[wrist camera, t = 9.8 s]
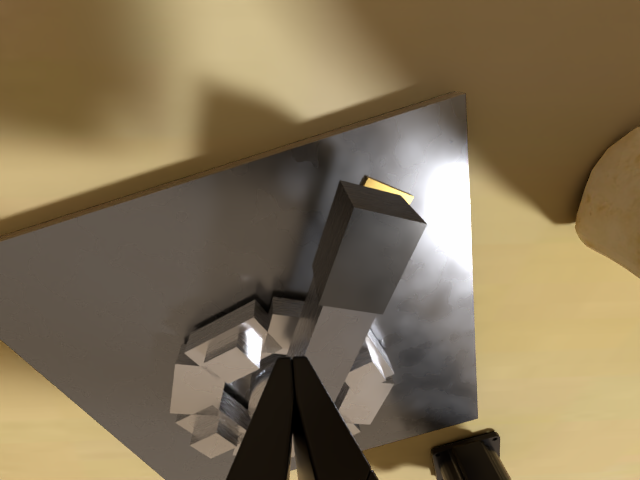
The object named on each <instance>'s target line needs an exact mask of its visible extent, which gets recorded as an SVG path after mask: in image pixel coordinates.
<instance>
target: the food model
mask: <svg viewBox="0 0 640 480" xmlns="http://www.w3.org/2000/svg"><path fill="white" fill-rule="evenodd" d="M575 229H576V232H577V234H578V236H579V238H580V240H581V241H582V242H583V243H584V244H585V245H586V246H588V247H589V248H591V249H593V250H594V251H596V252H598V253H600V254H602V255H604V256H606V257H608V258H610V259H611V260H613V261H615V262H616V263H618V264H620V265H621V266H623V267H624V268H626V269H627V270H629V271H630V272H631V273H633V274H634V275H636V276H637V277H638V278H640V127H637V128H635V129H633V130H632V131H631V132H629V133H628V134H627V135H625V136H624V137H623V138H621V139H620V140H619V141H617V142H616V143H615V144H613V145H612V146H611V147H609V148H608V149H607V150H606V152H605V153H604V154H603V156H602V157H601V158H600V160H599V161H598V163H597V164H596V165H595V167H594V168H593V169H592V171H591V174H590V176H589V179H588V182H587V184H586V187H585V190H584V193H583V196H582V200H581V203H580V206H579V209H578V212H577V216H576V225H575Z"/></svg>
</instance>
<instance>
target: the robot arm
mask: <svg viewBox="0 0 640 480" xmlns="http://www.w3.org/2000/svg"><path fill="white" fill-rule="evenodd" d="M292 436H293V444H294V452H295V459H296V466H297V473H298V480H379V479H378V478H377V476H376V474H375V473H374V471H373V470H371V466H370V464H369V463H368V461H367V459H366V457H365V456H364V454H363V452H362V451H361V449H360V447H359V445H358V444H357V442H356V440H355V438H354V437H353V435H352V433H351V432H350V430H349V428H348V426H347V425H346V423H345V421H344V420H343V418H342V416H341V414H340V413H339V411H338V409H337V407H336V406H335V404H334V402H333V401H332V399H331V397H330V395H329V394H328V392H327V390H326V389H325V387H324V385H323V383H322V382H321V380H320V378H319V376H318V375H317V373H316V371H315V370H314V368H313V366H312V364H311V363H310V361H309V359H308V358H307V357H306V356H294V357H293V358H291V357H278V358H277V359H276V362H275V364H274V366H273V369H272V371H271V373H270V376H269V378H268V380H267V383H266V385H265V388H264V390H263V392H262V395H261V397H260V399H259V402H258V404H257V407H256V409H255V411H254V414H253V416H252V418H251V421H250V423H249V425H248V428H247V430H246V433H245V435H244V437H243V440H242V442H241V444H240V447H239V449H238V452H237V454H236V456H235V459H234V461H233V463H232V466H231V468H230V470H229V473H228V475H227V478H226V480H289V477H290V465H291V453H292ZM431 455H432V460H433V465H434V470H435V475H436V479H437V480H511V478H510V476H509V474H508V473H507V471H506V469H505V467H504V466H503V464H502V462H501V460H500V437H499V435H498V433H497V432H491V433H488V434H484V435H480V436H477V437H473V438H470V439H466V440H462V441H459V442H455V443H452V444H448V445H444V446H441V447H437V448H434V449H432V450H431Z"/></svg>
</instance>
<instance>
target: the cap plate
mask: <svg viewBox="0 0 640 480" xmlns="http://www.w3.org/2000/svg"><path fill="white" fill-rule="evenodd" d="M340 180H342V181H346V182H350V183H354V184H358V185H362V186H366V187H370V188H374V189H378V190H382V191H386V192H390V193H394V194H398V195H401V196H402V197H403V198H404V199H405V200H406V201H407V203H408V204H409V205H410V206H411V207H412V208H413V209H414V210H415V211H416V212H417V213H418V215H419V216H420V217H421V218H422V219H423V220H424V221H425V222H426V223H427V226H426V228H425V230H424V232H423V234H422V236H421V238H420V240H419V242H418V244H417V246H416V248H415V250H414V252H413V254H412V256H411V258H410V260H409V262H408V264H407V266H406V268H405V270H404V272H403V275H402V277H401V279H400V281H399V283H398V285H397V287H396V289H395V291H394V293H393V295H392V297H391V299H390V301H389V303H388V305H387V307H386V309H385V311H384V313H383V315H382V314H377V315H376V318H375V320H374V322H373V324H372V326H371V328H370V330H371V332H372V333H373V335H374V336H375V338H376V339H377V341H378V342H379V344H380V345H381V347H382V348H383V350H384V351H385V353H386V354H387V356H388V358H389V361H390V364H391V366H392V369H393V372H394V374H393V375H391V377H392V379H393V382H394V385H393V387H392V388H391V390H390V392H389V394H388V395H387V397H386V399H385V400H384V402H383V404H382V405H381V407H380V409H379V410H378V412H377V414H376V416H375V417H374V419H373V421H372V422H371V424H370V425H369V424H359V426H360V431H361V432H359V433H357V434H355V435H353V437H354V438H355V440H356V442H357V444H358V445H359V447H360V449H361V451H363V450H366V449H370V448H374V447H377V446H381V445H384V444H388V443H391V442H395V441H399V440H402V439H406V438H409V437H413V436H417V435H420V434H424V433H427V432H431V431H435V430H438V429H442V428H445V427H449V426H452V425H456V424H460V423H463V422H467V421H470V420H474V419H478V408H477V381H476V354H475V327H474V301H473V274H472V247H471V220H470V193H469V166H468V140H467V113H466V93H460V92H455V91H454V92H451V93H448V94H445V95H442V96H439V97H436V98H433V99H429V100H426V101H423V102H420V103H417V104H414V105H411V106H407V107H404V108H401V109H398V110H395V111H392V112H389V113H386V114H382V115H379V116H376V117H373V118H370V119H367V120H364V121H360V122H357V123H354V124H351V125H348V126H345V127H342V128H339V129H335V130H332V131H329V132H326V133H323V134H320V135H317V136H314V137H310V138H307V139H304V140H301V141H298V142H295V143H292V144H288V145H285V146H282V147H279V148H276V149H273V150H270V151H267V152H263V153H260V154H257V155H254V156H251V157H248V158H245V159H241V160H238V161H235V162H232V163H229V164H226V165H223V166H220V167H216V168H213V169H210V170H207V171H204V172H201V173H198V174H195V175H191V176H188V177H185V178H182V179H179V180H176V181H173V182H169V183H166V184H163V185H160V186H157V187H154V188H151V189H148V190H144V191H141V192H138V193H135V194H132V195H129V196H126V197H122V198H119V199H116V200H113V201H110V202H107V203H104V204H101V205H97V206H94V207H91V208H88V209H85V210H82V211H79V212H76V213H72V214H69V215H66V216H63V217H60V218H57V219H54V220H50V221H47V222H44V223H41V224H38V225H35V226H32V227H29V228H25V229H22V230H19V231H16V232H13V233H10V234H7V235H3V236H0V340H2V341H3V342H4V343H5V344H6V345H7V346H9V347H10V348H11V349H12V350H13V351H15V352H16V353H17V354H18V355H19V356H20V357H22V358H23V359H24V360H25V361H26V362H27V363H29V364H30V365H31V366H32V367H33V368H35V369H36V370H37V371H38V372H39V373H40V374H42V375H43V376H44V377H45V378H46V379H47V380H49V381H50V382H51V383H52V384H53V385H54V386H56V387H57V388H58V389H59V390H60V391H62V392H63V393H64V394H65V395H66V396H67V397H69V398H70V399H71V400H72V401H73V402H74V403H76V404H77V405H78V406H79V407H80V408H82V409H83V410H84V411H85V412H86V413H87V414H89V415H90V416H91V417H92V418H93V419H94V420H96V421H97V422H98V423H99V424H100V425H102V426H103V427H104V428H105V429H106V430H107V431H109V432H110V433H111V434H112V435H113V436H114V437H116V438H117V439H118V440H119V441H120V442H121V443H123V444H124V445H125V446H126V447H127V448H129V449H130V450H131V451H132V452H133V453H134V454H136V455H137V456H138V457H139V458H140V459H141V460H143V461H144V462H145V463H146V464H147V465H149V466H150V467H151V468H152V469H153V470H154V471H156V472H157V473H158V474H159V475H160V476H161V477H163V478H164V479H165V480H226V478H227V475H228V473H229V470H230V468H231V466H232V463H233V461H234V459H235V456H236V455H233V449H231V450H229V451H227V452H225V453H222V454H220V455H218V456H216V457H213V458H209V457H207V456H206V455H204V454H203V453H201V452H199V451H198V450H196V449H195V448H193V447H191V446H190V442H191V437H192V433H190V432H189V431H187V430H186V429H184V428H183V427H181V426H180V425H178V424H177V423H175V422H176V418H177V415H178V414H173V413H170V406H171V397H172V388H173V379H174V370H175V363H176V360H177V357H178V354H179V351H180V348H181V345H182V344H187V342H188V339H189V336H190V333H192V332H194V331H196V330H198V329H200V328H202V327H204V326H205V325H207V324H209V323H211V322H213V321H215V320H217V319H219V318H221V317H223V316H225V315H226V314H228V313H230V312H232V311H234V310H236V309H238V308H240V307H242V306H244V305H246V304H247V303H249V302H251V301H253V300H256V301H257V302H258V303H259V304H260V305H261V306H262V308H263V309H264V310H265V311H266V312H267V313H269V310H270V306H271V303H272V299H273V297H280V298H286V299H293V300H300V301H305V299H306V296H307V293H308V290H309V287H310V284H311V281H312V278H313V270H312V263H313V260H314V257H315V254H316V251H317V248H318V245H319V242H320V239H321V236H322V233H323V230H324V227H325V224H326V221H327V218H328V215H329V212H330V208H331V205H332V202H333V199H334V196H335V193H336V190H337V187H338V184H339V181H340ZM278 357H286V355H285V354H275V353H273V354H271V355H269V356H267V357H265V358H263V359H260V369H258V370H256V371H254V372H252V373H250V374H248V375H246V376H244V377H241V378H239V379H237V380H235V381H233V382H231V383H229V384H227V383H226V382H225V385H224V389H223V390H224V391H225V392H226V393H227V394H229V395H230V396H231V397H232V398H234V399H235V400H236V401H237V402H238V403H240V404H241V405H242V406H243V407H245V408H246V409H247V410H248V414H249V416H250V418H252V416H253V414H254V411H255V409H256V407H257V404H258V402H259V399H260V397H261V395H262V392H263V390H264V388H265V385H266V383H267V380H268V378H269V376H270V373H271V371H272V369H273V366H274V364H275V362H276V359H277V358H278ZM295 469H297V466H296V459H295V456H294V457H291V465H290V471H291V470H295Z"/></svg>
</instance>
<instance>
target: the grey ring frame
mask: <svg viewBox="0 0 640 480" xmlns="http://www.w3.org/2000/svg"><path fill="white" fill-rule="evenodd" d="M426 226H427V223H426V222H425V221H424V220H423V219H422V218H421V217H420V216H419V215H418V213H417V212H416V211H415V210H414V209H413V208H412V207H411V206H410V205H409V204H408V203H407V201H406V200H405V199H404V198H403V197H402V196H401V195H398V194H394V193H390V192H386V191H382V190H378V189H374V188H370V187H366V186H362V185H358V184H354V183H350V182H346V181H342V180H340V181H339V184H338V187H337V190H336V193H335V196H334V199H333V202H332V205H331V208H330V212H329V215H328V218H327V221H326V224H325V227H324V230H323V233H322V236H321V239H320V242H319V245H318V248H317V251H316V254H315V257H314V260H313V263H312V270H313V278H312V281H311V284H310V287H309V290H308V293H307V296H306V299H305V301H300V300H293V299H286V298H280V297H273V299H272V303H271V306H270V310H269V313H267V312H266V311H265V310H264V309H263V308H262V306H261V305H260V304H259V303H258V302H257V301H256V300H253V301H251V302H249V303H247V304H246V305H244V306H242V307H240V308H238V309H236V310H234V311H232V312H230V313H228V314H226V315H225V316H223V317H221V318H219V319H217V320H215V321H213V322H211V323H209V324H207V325H205V326H204V327H202V328H200V329H198V330H196V331H194V332H192V333H190V336H189V339H188V342H187V344H182V345H181V348H180V351H179V354H178V357H177V360H176V363H175V370H174V379H173V388H172V397H171V406H170V413H173V414H178V415H177V418H176V422H175V423H177V424H178V425H180V426H181V427H183V428H184V429H186V430H187V431H189V432H190V433H192V437H191V442H190V446H191V447H193V448H195V449H196V450H198V451H199V452H201V453H203V454H204V455H206V456H207V457H209V458H213V457H216V456H218V455H220V454H222V453H225V452H227V451H229V450H231V449H233V455H236V454H237V452H238V449H239V447H240V444H241V442H242V440H243V437H244V435H245V433H246V430H247V428H248V425H249V423H250V421H251V418H250V416H249V414H248V410H247V409H246V408H245V407H243V406H242V405H241V404H240V403H238V402H237V401H236V400H235V399H234V398H232V397H231V396H230V395H229V394H227V393H226V392H225V391H224V390H223V389H224V385H225V382H226V383H227V384H229V383H231V382H233V381H235V380H237V379H239V378H241V377H244V376H246V375H248V374H250V373H252V372H254V371H256V370H258V369H260V359H263V358H265V357H267V356H269V355H271V354H273V353H275V354H285V355H286V357H291V358H293V357H294V356H306V357H307V358H308V359H309V361H310V363H311V364H312V366H313V368H314V370H315V371H316V373H317V375H318V376H319V378H320V380H321V382H322V383H323V385H324V387H325V389H326V390H327V392H328V394H329V395H330V397H331V399H332V401H333V402H334V404H335V406H336V407H337V409H338V411H339V413H340V414H341V416H342V418H343V420H344V421H345V423H346V425H347V426H348V428H349V430H350V432H351V433H352V435H355V434H357V433H359V432H361V431H360V426H359V424H369V425H370V424H371V422H372V421H373V419H374V417H375V416H376V414H377V412H378V410H379V409H380V407H381V405H382V404H383V402H384V400H385V399H386V397H387V395H388V394H389V392H390V390H391V388H392V387H393V385H394V382H393V379H392V377H391V375H393V374H394V372H393V369H392V366H391V364H390V361H389V358H388V356H387V354H386V353H385V351H384V350H383V348H382V347H381V345H380V344H379V342H378V341H377V339H376V338H375V336H374V335H373V333H372V332H371V330H370V328H371V326H372V324H373V322H374V320H375V318H376V315H377V314H382V315H383V313H384V311H385V309H386V307H387V305H388V303H389V301H390V299H391V297H392V295H393V293H394V291H395V289H396V287H397V285H398V283H399V281H400V279H401V277H402V275H403V272H404V270H405V268H406V266H407V264H408V262H409V260H410V258H411V256H412V254H413V252H414V250H415V248H416V246H417V244H418V242H419V240H420V238H421V236H422V234H423V232H424V230H425V228H426ZM294 456H295V452H294V444H293V436H292V453H291V457H294Z"/></svg>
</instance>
